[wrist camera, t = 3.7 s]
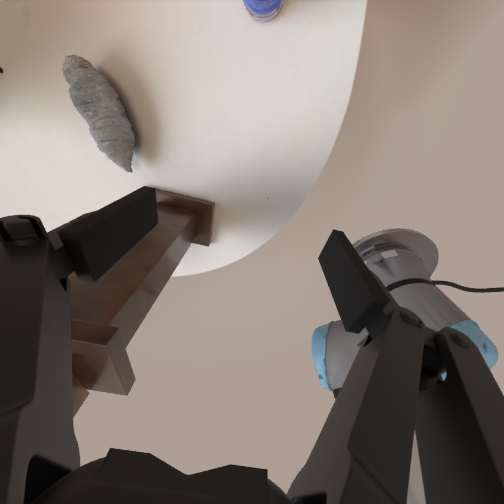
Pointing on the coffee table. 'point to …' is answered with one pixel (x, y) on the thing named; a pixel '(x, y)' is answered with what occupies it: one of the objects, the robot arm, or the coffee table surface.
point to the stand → (131, 293)
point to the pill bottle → (263, 9)
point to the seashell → (100, 110)
